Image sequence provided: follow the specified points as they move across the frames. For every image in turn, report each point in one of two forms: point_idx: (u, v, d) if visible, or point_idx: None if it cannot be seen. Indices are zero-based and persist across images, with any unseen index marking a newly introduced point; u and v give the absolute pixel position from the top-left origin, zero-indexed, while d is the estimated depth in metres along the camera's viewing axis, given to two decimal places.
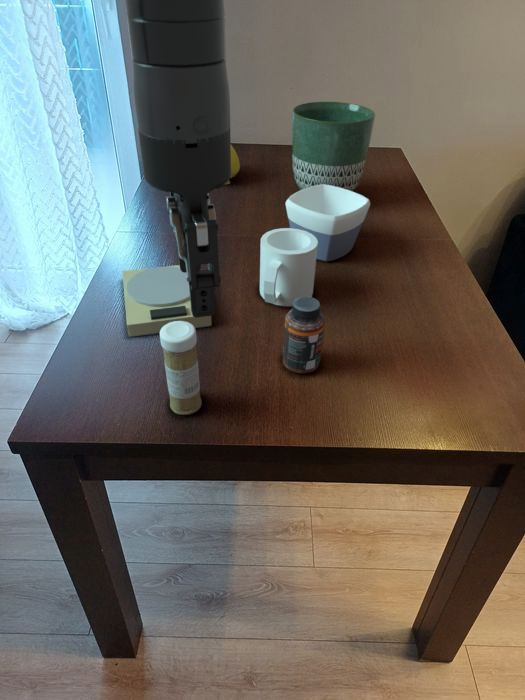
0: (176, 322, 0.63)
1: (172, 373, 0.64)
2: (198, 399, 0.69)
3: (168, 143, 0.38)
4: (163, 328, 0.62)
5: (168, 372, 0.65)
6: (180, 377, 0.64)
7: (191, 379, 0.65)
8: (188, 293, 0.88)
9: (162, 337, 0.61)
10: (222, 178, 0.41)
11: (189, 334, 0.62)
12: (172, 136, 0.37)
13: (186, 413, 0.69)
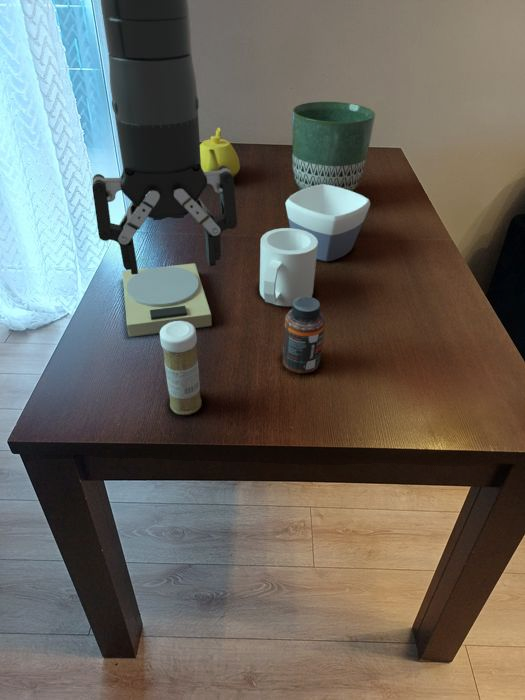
0: (176, 322, 0.63)
1: (173, 373, 0.64)
2: (198, 399, 0.69)
3: None
4: (163, 328, 0.62)
5: (168, 372, 0.65)
6: (180, 377, 0.64)
7: (191, 379, 0.65)
8: (188, 293, 0.88)
9: (162, 337, 0.61)
10: (133, 163, 0.45)
11: (189, 334, 0.62)
12: None
13: (186, 413, 0.69)
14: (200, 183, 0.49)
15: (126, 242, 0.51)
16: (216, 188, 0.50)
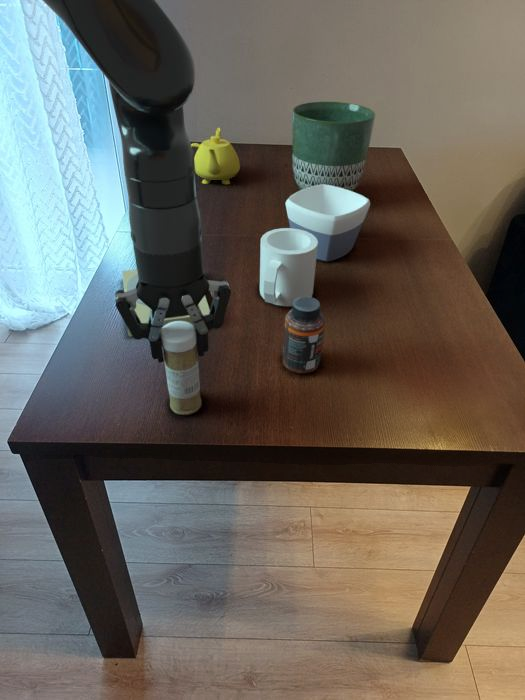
0: (176, 322, 0.63)
1: (173, 373, 0.64)
2: (198, 399, 0.69)
3: None
4: (163, 328, 0.62)
5: (168, 372, 0.65)
6: (180, 377, 0.64)
7: (191, 379, 0.65)
8: None
9: (162, 337, 0.61)
10: (148, 280, 0.54)
11: (190, 334, 0.62)
12: None
13: (186, 413, 0.69)
14: (203, 288, 0.58)
15: (155, 339, 0.61)
16: (214, 295, 0.60)
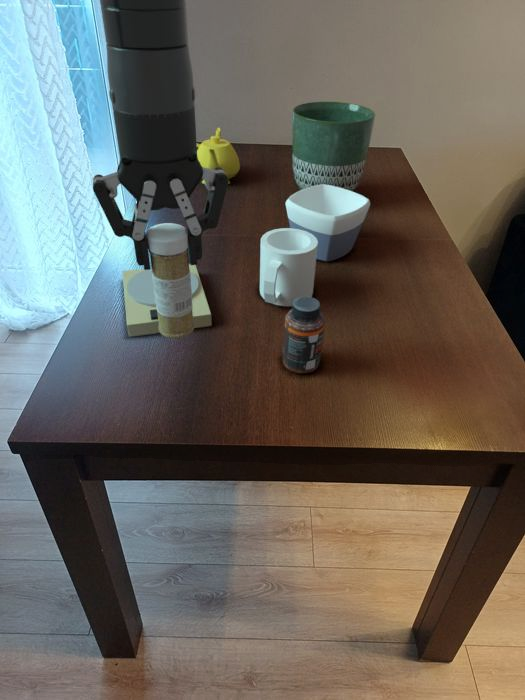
0: (165, 224, 0.55)
1: (161, 283, 0.56)
2: (190, 321, 0.60)
3: None
4: (150, 229, 0.54)
5: (156, 283, 0.56)
6: (169, 289, 0.56)
7: (182, 292, 0.57)
8: None
9: (149, 237, 0.53)
10: (130, 153, 0.46)
11: (180, 234, 0.53)
12: None
13: (176, 336, 0.60)
14: (196, 174, 0.50)
15: (140, 238, 0.52)
16: (208, 185, 0.51)
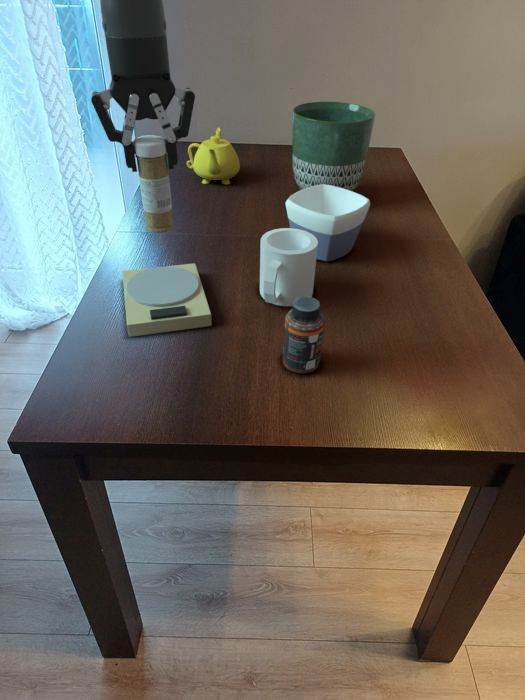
0: (148, 135, 0.71)
1: (145, 182, 0.71)
2: (170, 218, 0.76)
3: None
4: (136, 138, 0.70)
5: (141, 183, 0.72)
6: (152, 188, 0.72)
7: (163, 191, 0.72)
8: (188, 293, 0.88)
9: (135, 143, 0.68)
10: (118, 70, 0.61)
11: (159, 141, 0.69)
12: None
13: (159, 230, 0.76)
14: (170, 90, 0.65)
15: (128, 143, 0.68)
16: (180, 101, 0.67)
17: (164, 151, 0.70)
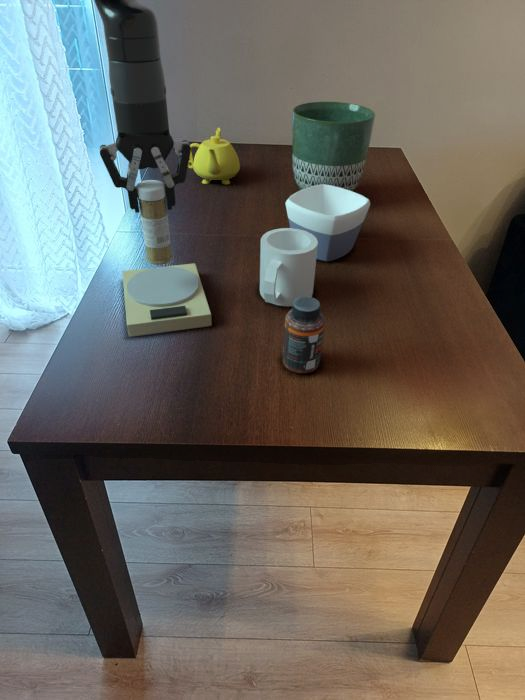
0: (149, 180, 0.79)
1: (147, 222, 0.80)
2: (169, 252, 0.85)
3: None
4: (139, 183, 0.78)
5: (143, 222, 0.81)
6: (153, 226, 0.80)
7: (162, 229, 0.81)
8: (188, 293, 0.88)
9: (138, 188, 0.77)
10: (124, 128, 0.70)
11: (159, 186, 0.78)
12: None
13: (159, 263, 0.85)
14: (169, 144, 0.74)
15: (132, 189, 0.77)
16: (178, 152, 0.76)
17: (163, 195, 0.78)
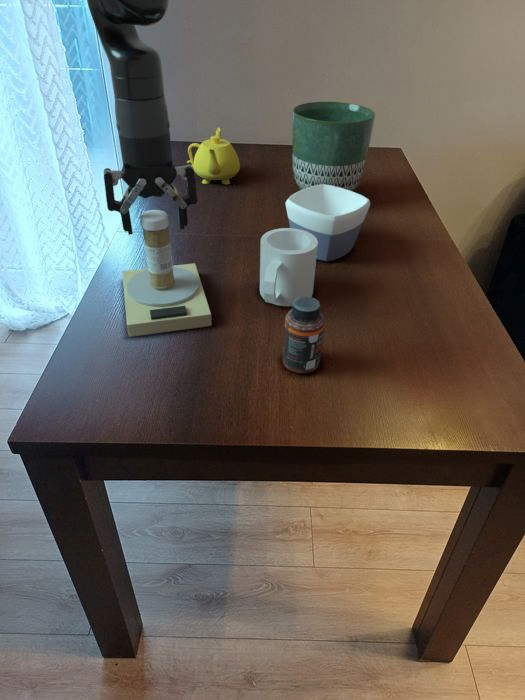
0: (153, 210, 0.83)
1: (150, 250, 0.83)
2: (171, 277, 0.88)
3: None
4: (143, 213, 0.82)
5: (147, 250, 0.84)
6: (156, 254, 0.84)
7: (165, 256, 0.84)
8: (188, 293, 0.88)
9: (141, 218, 0.80)
10: (129, 161, 0.73)
11: (162, 216, 0.81)
12: None
13: (162, 288, 0.88)
14: (172, 174, 0.77)
15: (125, 212, 0.79)
16: (183, 177, 0.78)
17: (166, 224, 0.82)
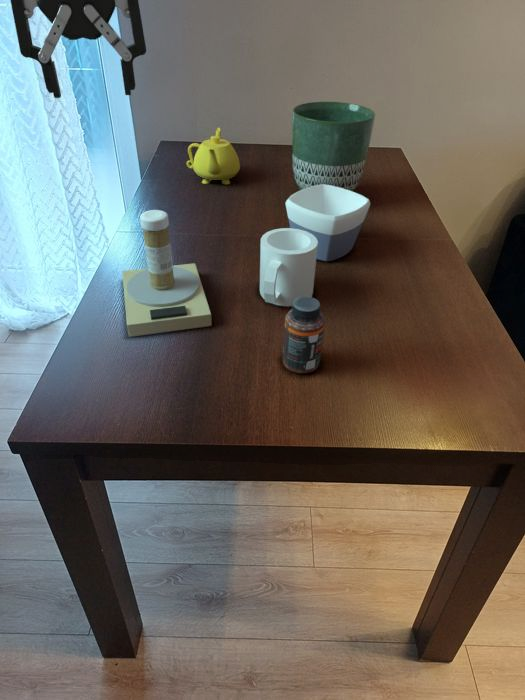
0: (153, 210, 0.83)
1: (150, 250, 0.83)
2: (171, 277, 0.88)
3: None
4: (143, 213, 0.82)
5: (147, 250, 0.84)
6: (156, 254, 0.84)
7: (165, 256, 0.84)
8: (188, 293, 0.88)
9: (141, 218, 0.80)
10: None
11: (162, 216, 0.81)
12: None
13: (162, 288, 0.88)
14: (108, 3, 0.56)
15: (46, 61, 0.58)
16: (124, 12, 0.57)
17: (166, 224, 0.82)
